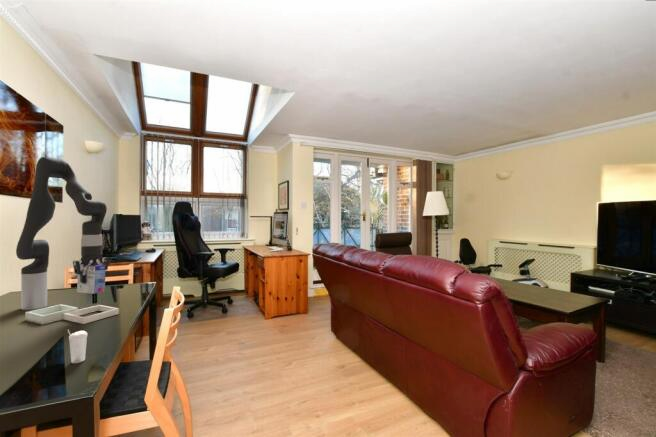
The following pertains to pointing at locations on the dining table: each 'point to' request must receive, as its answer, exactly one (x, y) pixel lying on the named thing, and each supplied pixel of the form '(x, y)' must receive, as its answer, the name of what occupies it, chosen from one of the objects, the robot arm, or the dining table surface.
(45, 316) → the tray
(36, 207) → the robot arm
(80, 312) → the white square frame
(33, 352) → the dining table surface
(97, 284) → the ink cartridge box
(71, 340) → the milkshake
